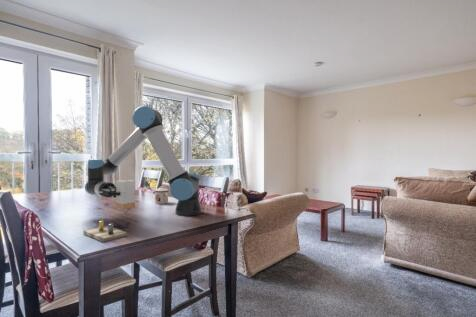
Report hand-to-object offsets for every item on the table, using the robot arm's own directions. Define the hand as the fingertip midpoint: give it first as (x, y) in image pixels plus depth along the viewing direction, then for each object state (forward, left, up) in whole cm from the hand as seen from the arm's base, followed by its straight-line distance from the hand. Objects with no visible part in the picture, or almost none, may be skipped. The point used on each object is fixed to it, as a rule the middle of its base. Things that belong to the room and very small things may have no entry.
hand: (131, 193), depth 129 cm
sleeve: (+4, -3, -7) cm, 9 cm away
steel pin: (+3, +15, -15) cm, 21 cm away
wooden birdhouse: (0, -59, -16) cm, 61 cm away
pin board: (+7, +12, -16) cm, 21 cm away
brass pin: (+9, +10, -15) cm, 20 cm away
